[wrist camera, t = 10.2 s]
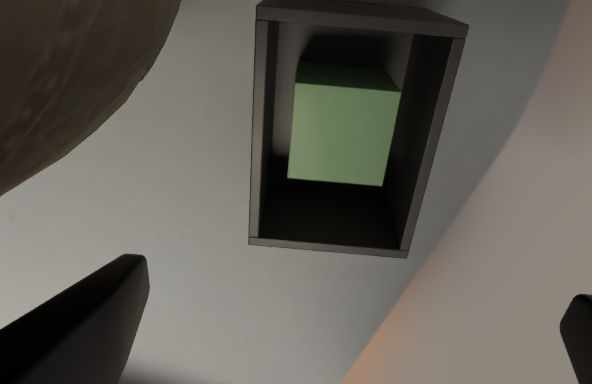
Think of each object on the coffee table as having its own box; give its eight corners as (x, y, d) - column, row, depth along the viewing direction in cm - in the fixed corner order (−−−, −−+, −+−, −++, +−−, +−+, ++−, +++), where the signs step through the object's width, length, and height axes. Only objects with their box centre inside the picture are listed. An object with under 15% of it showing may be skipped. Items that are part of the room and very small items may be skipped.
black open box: (385, 192, 21) (407, 259, 16) (262, 182, 21) (248, 245, 16) (425, 8, 17) (469, 24, 12) (272, -7, 17) (256, 4, 12)
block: (385, 68, 18) (401, 92, 14) (370, 149, 20) (382, 186, 16) (297, 60, 18) (294, 82, 14) (291, 142, 20) (287, 178, 16)
